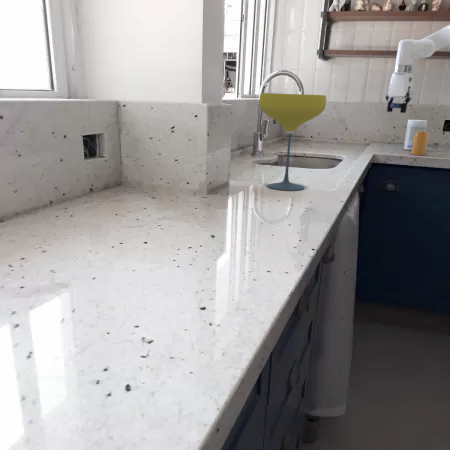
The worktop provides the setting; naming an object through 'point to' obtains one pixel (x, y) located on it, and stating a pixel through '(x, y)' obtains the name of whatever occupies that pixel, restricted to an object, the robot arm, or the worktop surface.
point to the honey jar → (419, 143)
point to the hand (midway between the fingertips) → (396, 111)
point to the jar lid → (395, 105)
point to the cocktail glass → (291, 120)
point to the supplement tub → (413, 131)
